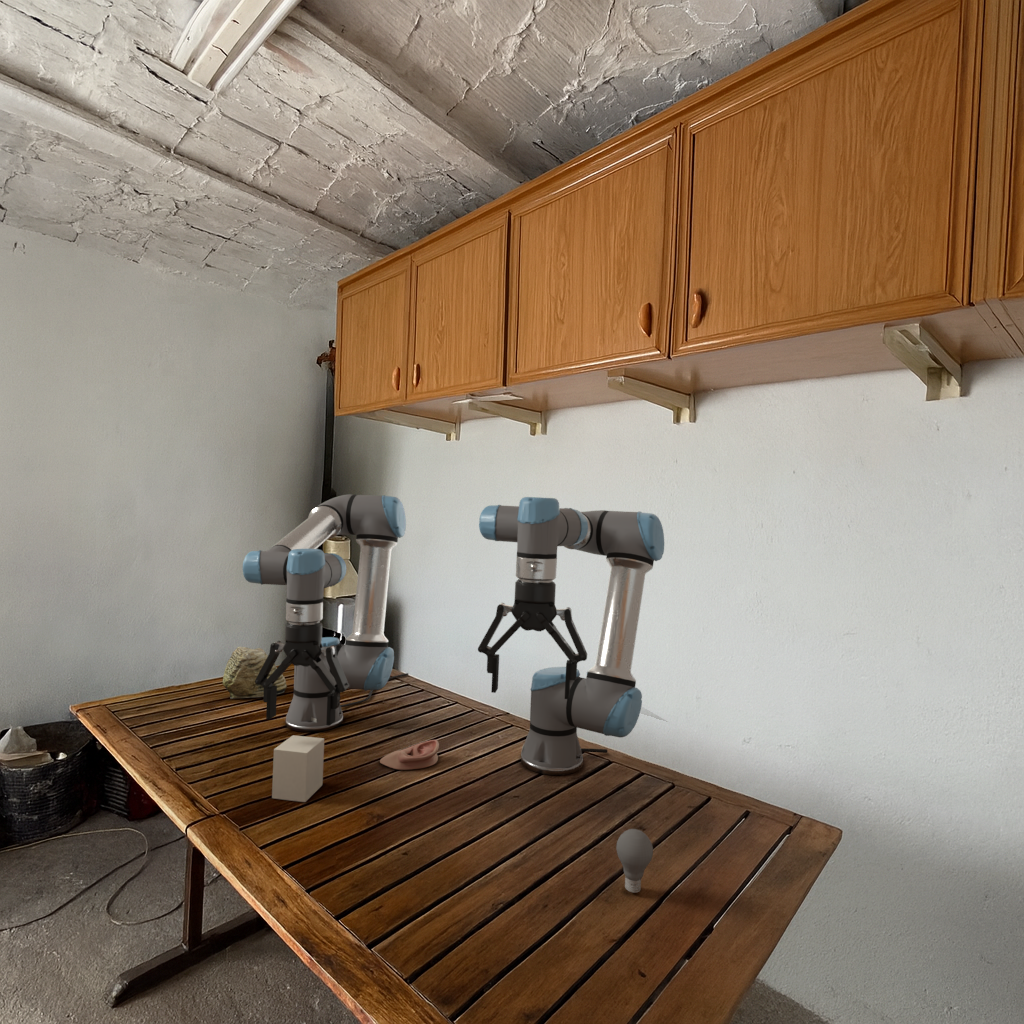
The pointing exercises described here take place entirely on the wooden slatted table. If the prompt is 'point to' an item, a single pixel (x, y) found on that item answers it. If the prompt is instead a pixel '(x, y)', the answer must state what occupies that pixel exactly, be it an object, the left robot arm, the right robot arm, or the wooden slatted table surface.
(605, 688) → the right robot arm
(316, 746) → the brick
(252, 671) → the fossil
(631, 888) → the light bulb
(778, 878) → the wooden slatted table surface
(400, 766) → the anatomical model
